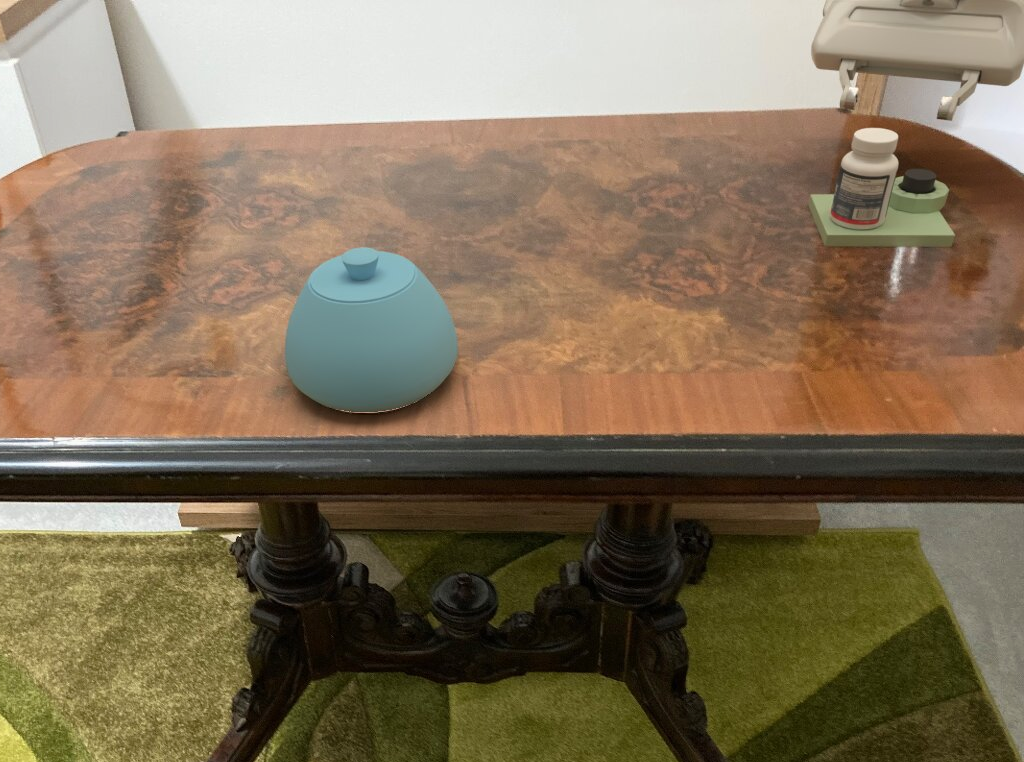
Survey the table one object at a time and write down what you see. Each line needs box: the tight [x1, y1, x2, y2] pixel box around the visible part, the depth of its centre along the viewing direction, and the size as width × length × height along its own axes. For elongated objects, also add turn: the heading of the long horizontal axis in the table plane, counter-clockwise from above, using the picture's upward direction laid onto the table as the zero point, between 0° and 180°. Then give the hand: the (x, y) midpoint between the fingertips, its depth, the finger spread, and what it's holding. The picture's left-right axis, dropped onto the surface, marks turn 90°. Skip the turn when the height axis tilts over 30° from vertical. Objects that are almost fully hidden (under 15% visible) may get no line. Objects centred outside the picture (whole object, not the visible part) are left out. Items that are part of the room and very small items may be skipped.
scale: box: [807, 175, 956, 248], centre depth 96 cm, size 13×11×3 cm
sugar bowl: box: [284, 246, 459, 412], centre depth 78 cm, size 15×15×12 cm
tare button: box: [901, 168, 937, 194], centre depth 96 cm, size 3×3×2 cm
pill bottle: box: [830, 127, 899, 230], centre depth 92 cm, size 5×5×9 cm
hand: (894, 112), depth 95 cm, fingers open, 8 cm apart
